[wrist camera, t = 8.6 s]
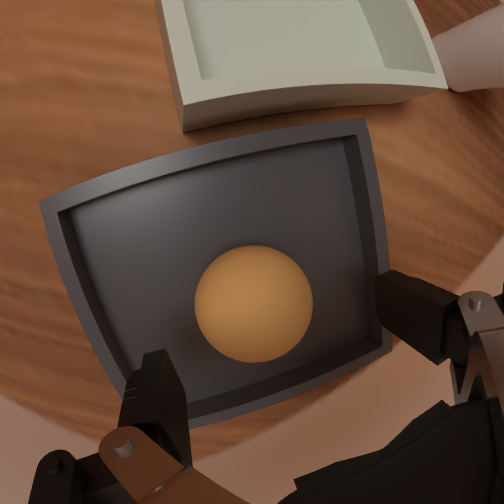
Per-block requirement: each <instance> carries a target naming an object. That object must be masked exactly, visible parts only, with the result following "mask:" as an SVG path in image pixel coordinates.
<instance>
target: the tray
mask: <svg viewBox="0 0 504 504" xmlns="http://www.w3.org/2000/svg"><path fill="white" fill-rule="evenodd" d="M39 204H40V208H41V212H42V216H43V220H44V223H45V227H46V230H47V234H48V237H49V240H50V244H51V247H52V250H53V253H54V256H55V259H56V262H57V265H58V268H59V271H60V273H61V276H62V279H63V281H64V284H65V287H66V289H67V292H68V294H69V297H70V299H71V301H72V304H73V306H74V309H75V311H76V313H77V315H78V318H79V320H80V322H81V324H82V326H83V329H84V331H85V333H86V335H87V337H88V339H89V341H90V343H91V345H92V347H93V349H94V351H95V353H96V355H97V357H98V359H99V360H100V362H101V364H102V366H103V368H104V370H105V371H106V373H107V375H108V377H109V378H110V380H111V382H112V384H113V385H114V387H115V389H116V390H117V392H118V394H119V395H120V397H121V398H122V400H123V396H124V392H125V387H126V382H127V379H128V378H129V377H130V375H131V374H132V373H133V371H134V370H137V369H141V365H142V359H143V355H144V353H148V352H151V351H155V350H159V349H163V348H164V349H165V350H166V351H167V353H168V355H169V357H170V359H171V361H172V363H173V366H174V368H175V370H176V372H177V374H178V376H179V378H180V380H181V382H182V384H183V387H184V390H185V394H186V399H187V413H188V425H189V429H192V428H196V427H200V426H204V425H208V424H212V423H216V422H219V421H223V420H226V419H230V418H233V417H236V416H240V415H243V414H246V413H249V412H252V411H255V410H258V409H261V408H264V407H267V406H270V405H273V404H276V403H278V402H281V401H284V400H286V399H289V398H292V397H294V396H297V395H299V394H302V393H304V392H307V391H309V390H312V389H314V388H317V387H319V386H321V385H324V384H326V383H328V382H330V381H333V380H335V379H337V378H339V377H341V376H344V375H346V374H348V373H350V372H352V371H354V370H356V369H358V368H360V367H362V366H364V365H366V364H368V363H370V362H372V361H374V360H376V359H378V358H380V357H382V356H383V355H385V354H387V353H389V352H391V351H392V332H390V331H389V330H387V329H386V328H385V327H383V326H382V325H381V323H380V322H379V320H378V318H377V314H376V301H375V288H374V279H375V277H376V276H378V275H380V274H383V273H385V272H387V271H390V266H389V254H388V244H387V235H386V227H385V219H384V211H383V205H382V198H381V192H380V186H379V180H378V175H377V169H376V164H375V159H374V154H373V150H372V145H371V141H370V136H369V132H368V128H367V124H366V120H365V118H360V119H349V120H339V121H330V122H322V123H314V124H307V125H300V126H293V127H287V128H281V129H275V130H269V131H264V132H258V133H253V134H248V135H243V136H238V137H234V138H229V139H225V140H220V141H216V142H212V143H208V144H204V145H200V146H196V147H192V148H188V149H184V150H180V151H177V152H173V153H170V154H166V155H163V156H159V157H156V158H153V159H149V160H146V161H143V162H140V163H137V164H134V165H130V166H127V167H124V168H122V169H119V170H116V171H113V172H110V173H107V174H104V175H102V176H99V177H96V178H94V179H91V180H88V181H86V182H83V183H81V184H78V185H75V186H73V187H71V188H68V189H66V190H63V191H61V192H58V193H56V194H54V195H52V196H49V197H47V198H45V199H42V200H40V201H39ZM249 245H261V246H266V247H270V248H273V249H276V250H278V251H280V252H282V253H284V254H286V255H287V256H289V257H290V258H291V259H292V260H293V261H295V262H296V263H297V264H298V265H299V267H300V268H301V269H302V271H303V272H304V274H305V276H306V277H307V279H308V282H309V284H310V288H311V292H312V297H313V311H312V317H311V320H310V324H309V326H308V328H307V330H306V332H305V334H304V336H303V337H302V338H301V340H300V341H299V342H298V343H297V344H296V346H295V347H293V348H292V349H291V350H290V351H288V352H287V353H285V354H284V355H282V356H280V357H278V358H275V359H273V360H269V361H265V362H255V363H251V362H242V361H238V360H235V359H232V358H230V357H227V356H225V355H224V354H222V353H221V352H219V351H218V350H217V349H215V348H214V347H213V346H212V345H211V344H210V343H209V342H208V341H207V339H206V338H205V336H204V335H203V333H202V332H201V330H200V327H199V325H198V322H197V318H196V315H195V294H196V289H197V286H198V283H199V281H200V279H201V276H202V275H203V273H204V271H205V270H206V268H207V267H208V266H209V265H210V264H211V263H212V262H213V261H214V260H215V259H216V258H217V257H219V256H220V255H222V254H223V253H225V252H227V251H229V250H231V249H234V248H237V247H241V246H249Z"/></svg>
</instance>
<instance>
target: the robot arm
mask: <svg viewBox="0 0 504 504" xmlns="http://www.w3.org/2000/svg"><path fill="white" fill-rule="evenodd" d="M374 288H375V301H376V314H377V318H378V320H379V322H380V323H381V325H382V326H383V327H385V328H386V329H387V330H389V331H390V332H392V333H393V334H394V335H396V336H397V337H398V338H400V339H401V340H403V341H404V342H406V343H407V344H408V345H410V346H411V347H413V348H414V349H415V350H417V351H418V352H419V353H421V354H422V355H423V356H425V357H426V358H428V359H429V360H430V361H432V362H433V363H434V364H436V365H437V366H438V365H439V364H440V363H442V362H443V361H445V360H446V359H448V358H450V359H451V362H450V372H451V378H452V385H453V391H454V399H455V405H454V406H451V407H450V406H449V405H448V404H446V403H445V402H444V401H443V400H441V401H440V402H438V403H437V404H435V405H434V406H433V407H431V408H430V409H428V410H427V411H426V412H424V413H423V414H421V415H420V416H418V417H417V418H415V419H414V420H412V421H411V422H410V423H409V425H407V426H406V427H405V428H404V429H403V430H402V432H400V433H399V434H398V435H397V436H396V437H395V438H394V439H393V440H392V441H391V442H390V443H389V444H388V445H387V446H385V447H384V448H383V449H381V450H378V451H375V452H372V453H368V454H365V455H361V456H358V457H355V458H351V459H347V460H343V461H339V462H335V463H333V464H331V465H328V466H326V467H324V468H321V469H319V470H317V471H314V472H311V473H309V474H306V475H304V476H301V477H298V478H296V479H294V482H295V485H296V488H297V490H296V491H294V492H292V493H291V494H289V495H288V496H286V497H285V498H284V499H282V500H281V501H280V502H279V503H278V504H504V283H503V292H502V294H500V295H497V296H495V297H492V296H491V295H490V294H487V293H485V292H481V291H471V292H467V293H464V294H463V295H461V296H458V295H456V294H453V293H451V292H449V291H447V290H444V289H442V288H440V287H438V286H437V287H436V286H435V285H433V284H431V283H429V284H428V282H426V281H424V280H421V279H419V278H414V277H409V276H407V275H405V274H402V273H400V272H398V271H395V270H390V271H387V272H385V273H383V274H380V275H378V276H376V277H375V279H374ZM28 504H250V503H248V502H246V501H244V500H243V499H241V498H239V497H238V496H236V495H234V494H233V493H231V492H229V491H228V490H226V489H224V488H223V487H221V486H220V485H218V484H216V483H215V482H214V481H212V480H211V479H209V478H208V477H206V476H205V475H203V474H202V473H200V472H199V471H197V470H196V469H195V468H193V464H192V456H191V446H190V436H189V425H188V413H187V399H186V394H185V390H184V387H183V384H182V382H181V380H180V378H179V376H178V374H177V372H176V370H175V368H174V366H173V363H172V361H171V359H170V357H169V355H168V353H167V351H166V350H165V349H164V348H163V349H159V350H155V351H151V352H148V353H144V355H143V359H142V365H141V369H137V370H134V371H133V373H132V374H131V375H130V377H129V378H128V379H127V382H126V387H125V392H124V396H123V401H122V406H121V411H120V416H119V421H118V427H117V429H114V430H112V431H111V432H109V433H108V434H107V435H106V436H105V437H104V438H103V439H102V441H101V443H100V445H99V452H98V453H95V454H93V455H90V456H87V457H84V458H81V459H78V460H76V459H75V458H74V457H73V456H72V454H71V453H69V452H68V451H65V450H55V451H52V452H50V453H48V454H47V455H45V456H44V457H43V458H42V459H41V460H40V462H39V464H38V466H37V469H36V473H35V477H34V481H33V485H32V489H31V493H30V497H29V503H28Z"/></svg>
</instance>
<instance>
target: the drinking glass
mask: <svg viewBox="0 0 504 504" xmlns="http://www.w3.org/2000/svg"><path fill="white" fill-rule="evenodd" d="M431 40H432V43H433V45H434V48H435V50H436V53H437V56H438V58H439V61H440V64H441V67H442V70H443V73H444V76H445V79H446V82H447V86H448V87H449V88H451V89H452V90H454V91H456V92H467V91H472V90H479V89H491V88H504V3H502V4H500V5H498V6H496V7H494V8H491V9H489V10H487V11H485V12H483V13H481V14H479V15H477V16H475V17H473V18H471V19H469V20H467V21H465V22H463V23H461V24H459V25H457V26H455V27H453V28H451V29H449V30H447V31H445V32H443V33H440V34H438V35H435V36H434V37H433V38H432V39H431Z"/></svg>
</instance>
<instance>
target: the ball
mask: <svg viewBox="0 0 504 504" xmlns="http://www.w3.org/2000/svg"><path fill="white" fill-rule="evenodd" d="M312 311H313V297H312V292H311V288H310V284H309V282H308V279H307V277H306V276H305V274H304V272H303V271H302V269H301V268H300V267H299V265H298V264H297V263H296V262H295V261H293V260H292V259H291V258H290V257H289V256H287V255H286V254H284V253H282V252H280V251H278V250H276V249H273V248H270V247H266V246H261V245H249V246H241V247H237V248H234V249H231V250H229V251H227V252H225V253H223V254H222V255H220V256H219V257H217V258H216V259H215V260H214V261H213V262H212V263H211V264H210V265H209V266H208V267H207V268H206V270H205V271H204V273H203V275H202V276H201V279H200V281H199V283H198V286H197V289H196V294H195V315H196V318H197V322H198V325H199V327H200V330H201V332H202V333H203V335H204V336H205V338H206V339H207V341H208V342H209V343H210V344H211V345H212V346H213V347H214V348H215V349H217V350H218V351H219V352H221V353H222V354H224V355H225V356H227V357H230V358H232V359H235V360H238V361H242V362H251V363H255V362H265V361H269V360H273V359H275V358H278V357H280V356H282V355H284V354H285V353H287V352H288V351H290V350H291V349H292V348H293V347H295V346H296V344H297V343H298V342H299V341H300V340H301V338H302V337H303V336H304V334H305V332H306V330H307V328H308V326H309V324H310V320H311V317H312Z"/></svg>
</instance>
